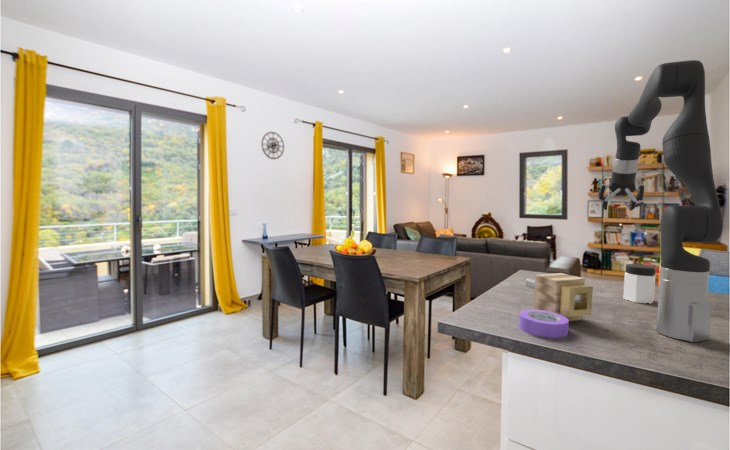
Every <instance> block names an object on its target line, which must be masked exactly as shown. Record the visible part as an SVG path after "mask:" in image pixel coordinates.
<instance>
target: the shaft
mask: <svg viewBox="0 0 730 450" xmlns="http://www.w3.org/2000/svg"><path fill="white" fill-rule="evenodd" d="M524 281H525V283H524V284H525V287H527V288H529V289H532V290H535V278H531V277H528V278H526V280H524ZM583 299H584V296H583V294H582V293H580V294H575V297H574V302H575V303H578V304H579V303H581V302H582V301H583Z"/></svg>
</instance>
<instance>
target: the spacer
mask: <svg viewBox="0 0 730 450" xmlns="http://www.w3.org/2000/svg"><path fill="white" fill-rule="evenodd" d="M593 288H594V286H593V285H590V284H585V283H584V284H575V285H562V286H561V295H560V314H562V315H564V316H567V317H574V316H583V317H584V316H589V315H592V312H593V311H592V310H593V309H592V307H593ZM580 293H582V294H583V296H584V299H583V301H582V302H581V303H579V304H578V306H574V297H575V294H580Z"/></svg>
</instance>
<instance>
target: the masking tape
mask: <svg viewBox="0 0 730 450" xmlns="http://www.w3.org/2000/svg"><path fill="white" fill-rule="evenodd" d="M518 321H519V322H518V323H519V324H518V327H519V329H520V330H522V331H523V332H525V333H528V334H530V335H532V336H535V337H540V338H541V337H542V338H550V339H551V338H552V339H556V338H557V339H559V338H564V337H567V336H568V334H569V326H570V325H569V322H570V321H569V320H568V319H567V318H566V317H565V316H563V315H560V314H557V313H554V312H550V311H544V310H534V309H523V310H521V311H520V312H519V320H518Z"/></svg>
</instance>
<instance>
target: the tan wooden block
mask: <svg viewBox="0 0 730 450" xmlns="http://www.w3.org/2000/svg"><path fill="white" fill-rule="evenodd" d="M534 276H535V277H534V279H535V289H534V296H533V297H534V299H533V310H544V311H550V312H554V313H557V314H560V295H561V286H562V285H575V284H585V278H584V277H579V276H576V275H571V274H567V273H563V272H558V273H546V274H543V273H541V274H535V275H534ZM574 306H578V303H575V302H574ZM560 315H562V314H560ZM563 316H564V315H563ZM565 317H566V318H567V319H568V320H569V322H572V321H573V322H574V321H581V320H584V319H583V318H584V315H583V316H574V317H567V316H565Z"/></svg>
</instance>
